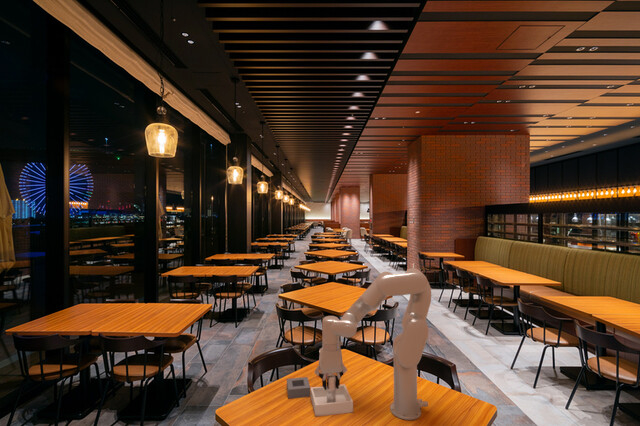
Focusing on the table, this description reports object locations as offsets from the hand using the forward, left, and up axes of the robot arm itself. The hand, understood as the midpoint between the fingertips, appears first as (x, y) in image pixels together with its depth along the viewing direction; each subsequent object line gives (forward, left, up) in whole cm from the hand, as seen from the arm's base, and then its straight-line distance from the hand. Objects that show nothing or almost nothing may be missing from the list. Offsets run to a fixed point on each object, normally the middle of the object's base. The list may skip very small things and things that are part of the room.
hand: (331, 387), depth 137 cm
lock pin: (0, 0, -7) cm, 7 cm away
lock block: (+13, -13, -7) cm, 20 cm away
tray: (0, 0, -7) cm, 7 cm away
